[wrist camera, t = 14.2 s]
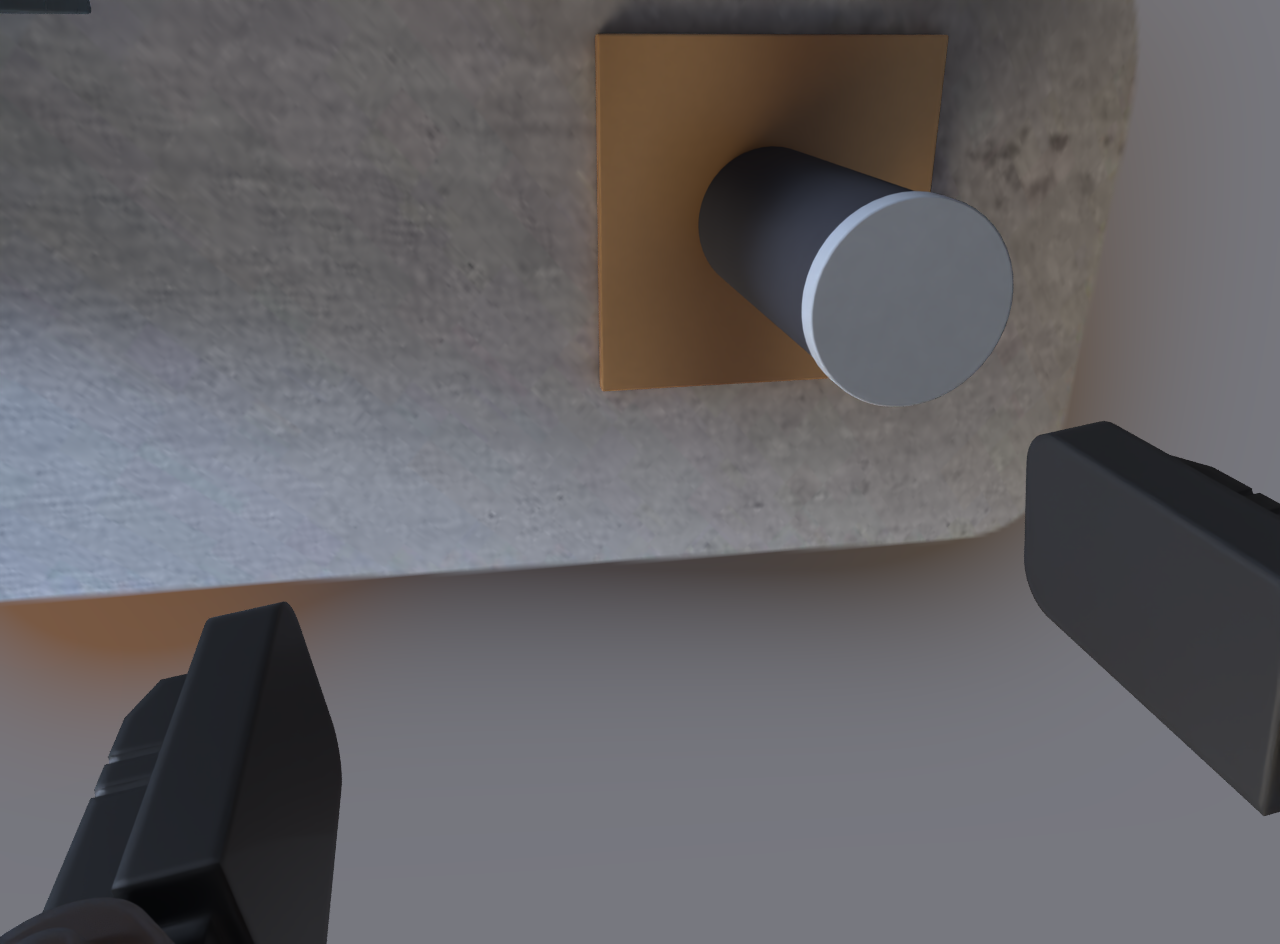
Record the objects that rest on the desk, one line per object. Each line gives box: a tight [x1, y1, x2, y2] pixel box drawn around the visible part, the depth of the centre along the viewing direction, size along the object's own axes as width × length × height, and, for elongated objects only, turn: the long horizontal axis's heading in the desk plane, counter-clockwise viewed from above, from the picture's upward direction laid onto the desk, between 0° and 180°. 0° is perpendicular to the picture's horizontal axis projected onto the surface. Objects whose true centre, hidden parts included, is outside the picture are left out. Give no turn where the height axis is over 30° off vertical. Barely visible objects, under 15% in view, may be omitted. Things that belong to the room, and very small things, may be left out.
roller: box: [698, 146, 1013, 407], centre depth 25 cm, size 4×4×10 cm
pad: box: [595, 34, 948, 391], centre depth 30 cm, size 10×10×1 cm
